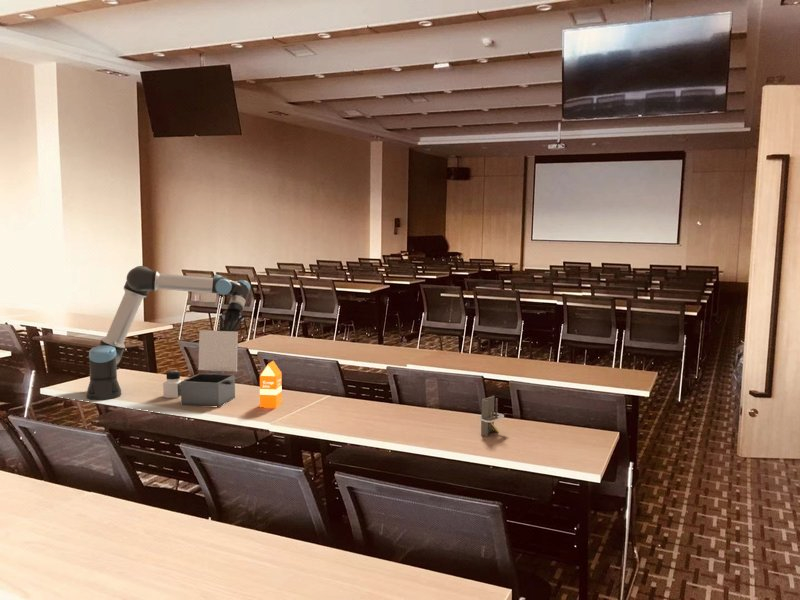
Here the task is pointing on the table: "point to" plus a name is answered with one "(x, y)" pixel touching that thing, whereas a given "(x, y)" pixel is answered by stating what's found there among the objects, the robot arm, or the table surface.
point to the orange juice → (271, 386)
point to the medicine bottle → (172, 385)
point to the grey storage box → (207, 390)
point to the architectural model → (489, 416)
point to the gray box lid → (218, 351)
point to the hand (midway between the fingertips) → (222, 343)
